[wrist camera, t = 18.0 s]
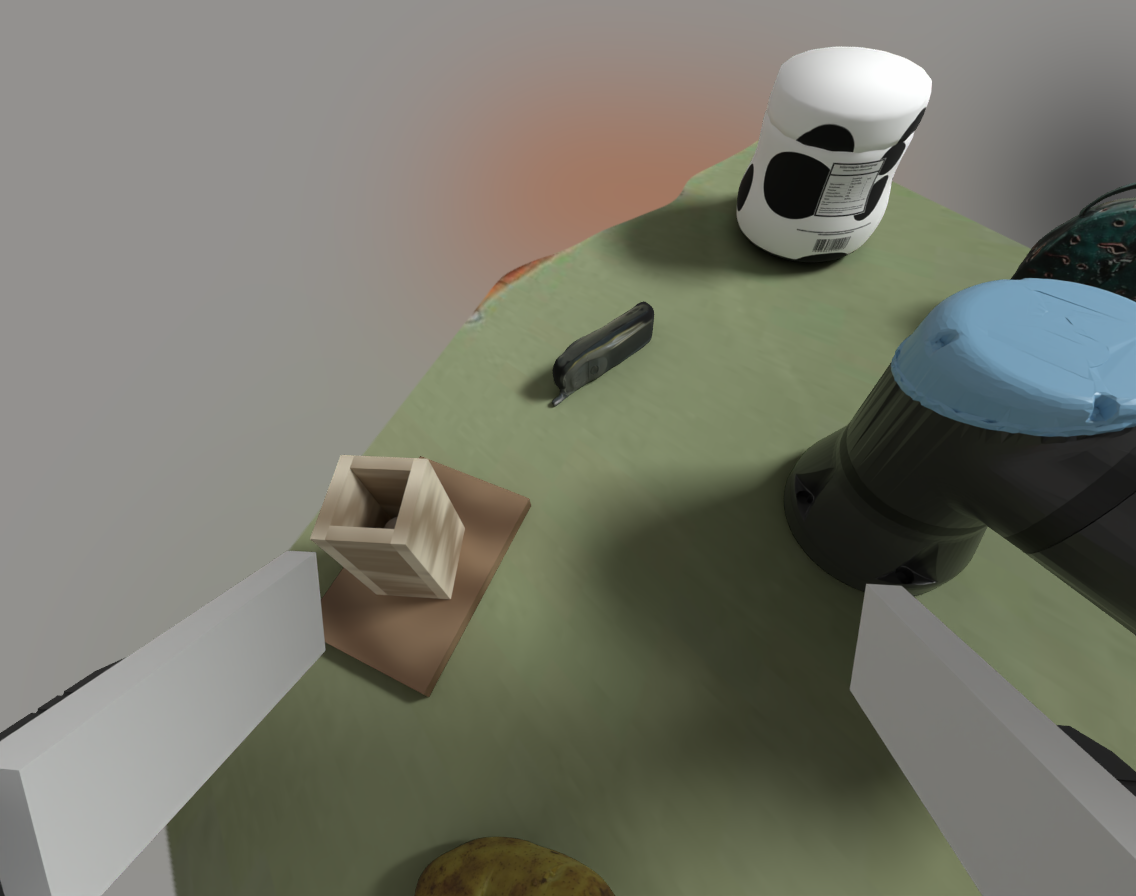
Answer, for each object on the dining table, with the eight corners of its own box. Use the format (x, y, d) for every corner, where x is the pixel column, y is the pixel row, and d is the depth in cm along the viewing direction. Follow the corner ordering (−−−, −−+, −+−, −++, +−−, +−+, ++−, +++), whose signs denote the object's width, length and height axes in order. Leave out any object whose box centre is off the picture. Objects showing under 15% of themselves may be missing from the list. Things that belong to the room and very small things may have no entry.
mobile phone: (641, 294, 58) (537, 364, 52) (661, 307, 56) (556, 380, 51) (637, 327, 62) (540, 395, 56) (656, 341, 60) (559, 411, 55)
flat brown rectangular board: (424, 463, 52) (396, 412, 45) (531, 505, 49) (519, 457, 42) (309, 633, 44) (251, 604, 37) (429, 696, 41) (391, 678, 34)
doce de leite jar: (782, 179, 76) (827, 28, 60) (893, 230, 68) (978, 73, 53) (703, 233, 70) (732, 81, 55) (815, 295, 62) (885, 140, 47)
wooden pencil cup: (396, 524, 47) (340, 455, 37) (465, 528, 47) (427, 458, 37) (376, 594, 44) (309, 538, 34) (450, 599, 43) (405, 544, 33)
